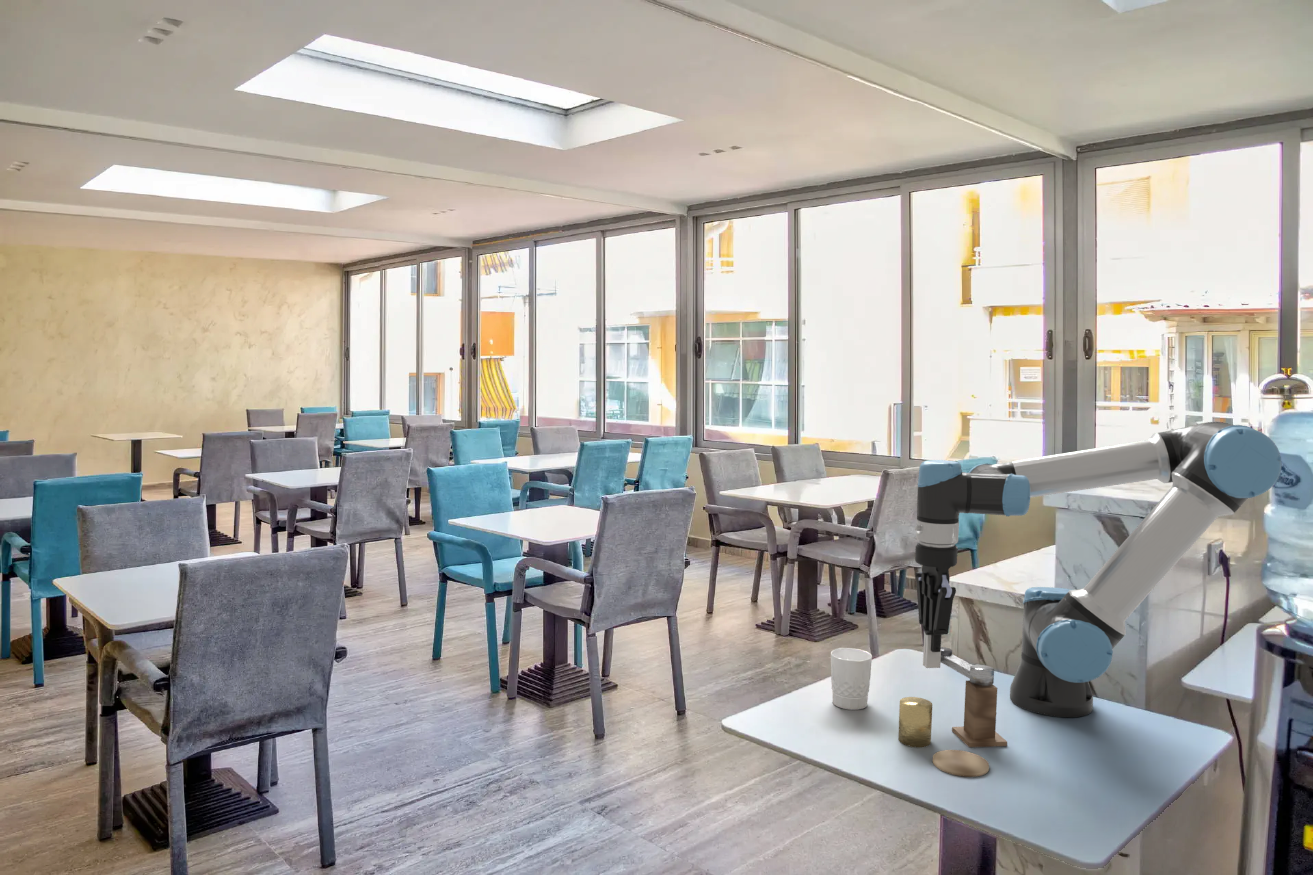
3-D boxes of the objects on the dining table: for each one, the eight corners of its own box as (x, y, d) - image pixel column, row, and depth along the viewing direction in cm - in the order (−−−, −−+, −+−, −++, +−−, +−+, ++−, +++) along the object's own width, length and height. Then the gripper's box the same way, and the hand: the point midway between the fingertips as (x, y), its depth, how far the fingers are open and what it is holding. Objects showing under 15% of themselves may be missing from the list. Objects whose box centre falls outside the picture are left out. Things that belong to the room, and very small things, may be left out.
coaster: (974, 752, 160) (974, 748, 160) (998, 775, 151) (999, 772, 151) (924, 754, 159) (924, 750, 159) (946, 778, 150) (946, 774, 150)
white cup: (870, 713, 177) (872, 662, 176) (828, 709, 179) (830, 659, 178) (869, 698, 185) (871, 649, 184) (829, 694, 186) (831, 646, 186)
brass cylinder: (923, 734, 168) (924, 696, 167) (936, 747, 162) (937, 708, 162) (893, 735, 167) (895, 697, 166) (905, 748, 162) (906, 709, 161)
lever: (998, 684, 164) (998, 671, 163) (978, 686, 163) (979, 673, 162) (947, 656, 179) (947, 644, 178) (929, 658, 177) (929, 645, 177)
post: (988, 729, 170) (990, 676, 169) (1007, 746, 163) (1009, 690, 162) (951, 731, 169) (954, 677, 168) (968, 747, 162) (971, 692, 161)
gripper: (903, 536, 179) (899, 655, 181) (932, 551, 166) (926, 679, 168) (940, 536, 180) (935, 654, 182) (972, 550, 166) (966, 678, 169)
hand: (931, 666), depth 175 cm, fingers closed
